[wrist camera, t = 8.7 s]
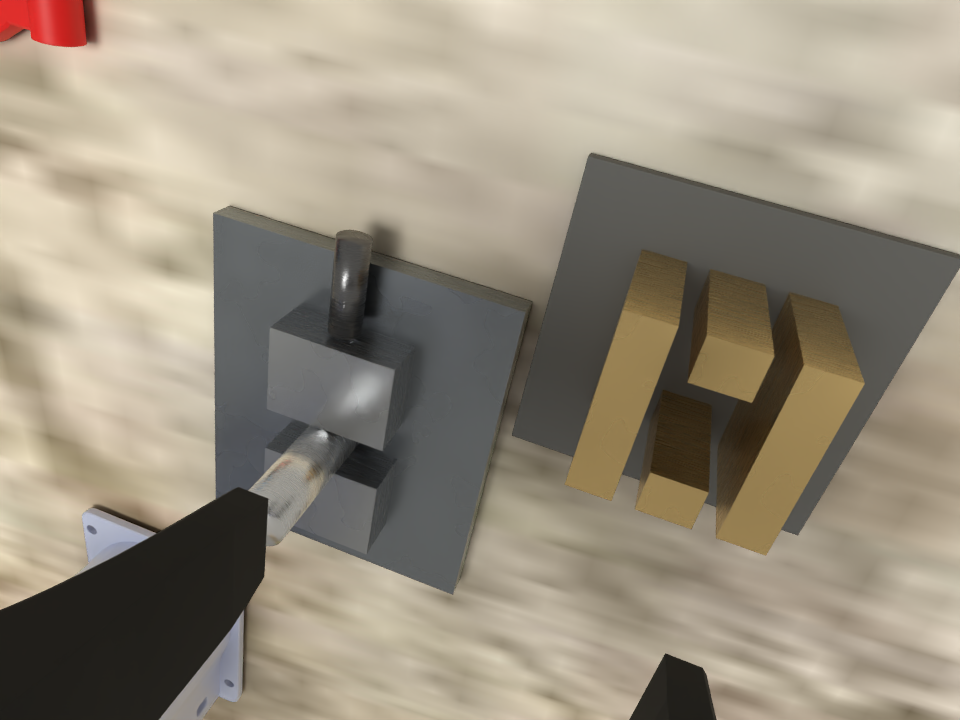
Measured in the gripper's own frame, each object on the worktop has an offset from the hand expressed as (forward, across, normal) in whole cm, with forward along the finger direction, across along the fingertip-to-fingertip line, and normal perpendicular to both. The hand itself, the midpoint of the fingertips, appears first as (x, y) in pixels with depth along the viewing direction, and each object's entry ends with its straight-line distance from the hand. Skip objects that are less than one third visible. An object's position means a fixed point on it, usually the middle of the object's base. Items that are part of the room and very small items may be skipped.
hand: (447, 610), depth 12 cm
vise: (+10, +6, +5) cm, 13 cm away
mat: (+10, -4, -1) cm, 11 cm away
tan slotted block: (+10, -4, -1) cm, 11 cm away
